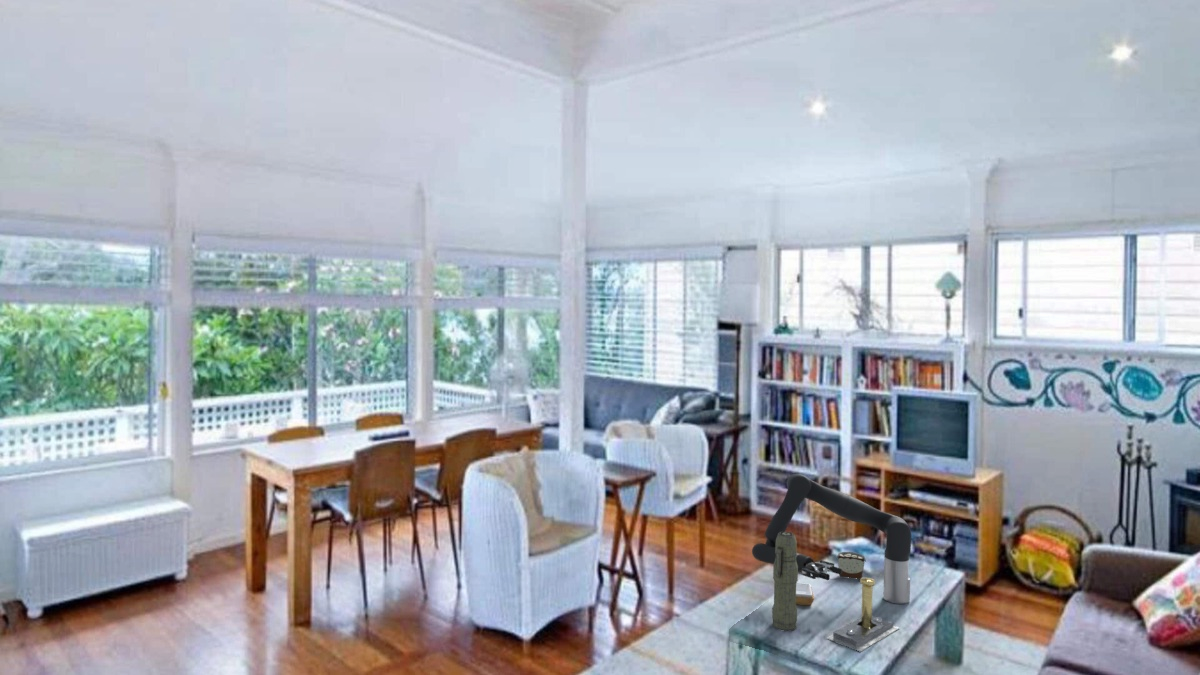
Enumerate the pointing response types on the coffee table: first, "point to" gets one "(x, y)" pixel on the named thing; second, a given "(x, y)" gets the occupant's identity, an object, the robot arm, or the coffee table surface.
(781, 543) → the thermos
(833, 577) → the coffee table surface
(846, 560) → the food container
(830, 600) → the coffee table surface
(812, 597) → the soap dish
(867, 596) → the brass pin
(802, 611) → the coffee table surface
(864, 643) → the bolted mounting plate
